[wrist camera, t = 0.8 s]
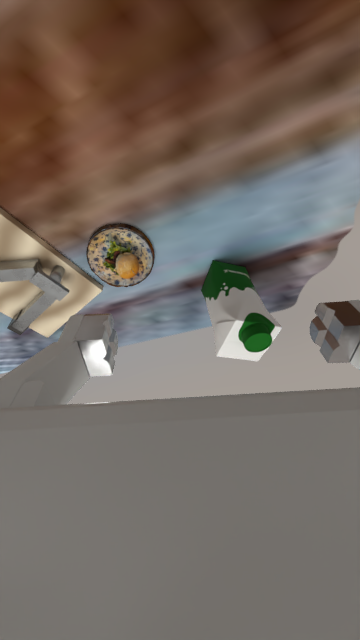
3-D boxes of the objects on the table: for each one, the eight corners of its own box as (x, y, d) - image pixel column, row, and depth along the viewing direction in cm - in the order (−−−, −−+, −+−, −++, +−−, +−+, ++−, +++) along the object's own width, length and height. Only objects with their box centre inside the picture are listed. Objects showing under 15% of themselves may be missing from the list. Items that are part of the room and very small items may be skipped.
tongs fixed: (48, 256, 45) (39, 270, 42) (75, 276, 48) (70, 291, 45) (-2, 308, 51) (-13, 324, 48) (26, 323, 54) (17, 339, 51)
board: (-65, 268, 46) (-70, 273, 45) (-14, 197, 40) (-18, 200, 39) (49, 332, 58) (47, 337, 57) (103, 286, 52) (102, 290, 51)
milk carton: (251, 263, 52) (294, 335, 37) (233, 300, 57) (263, 375, 42) (209, 254, 50) (237, 326, 35) (195, 293, 55) (213, 369, 40)
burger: (88, 216, 43) (80, 235, 38) (159, 230, 46) (161, 250, 40) (87, 277, 51) (80, 301, 45) (148, 286, 53) (148, 310, 48)
